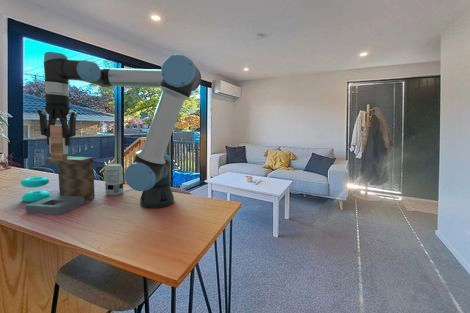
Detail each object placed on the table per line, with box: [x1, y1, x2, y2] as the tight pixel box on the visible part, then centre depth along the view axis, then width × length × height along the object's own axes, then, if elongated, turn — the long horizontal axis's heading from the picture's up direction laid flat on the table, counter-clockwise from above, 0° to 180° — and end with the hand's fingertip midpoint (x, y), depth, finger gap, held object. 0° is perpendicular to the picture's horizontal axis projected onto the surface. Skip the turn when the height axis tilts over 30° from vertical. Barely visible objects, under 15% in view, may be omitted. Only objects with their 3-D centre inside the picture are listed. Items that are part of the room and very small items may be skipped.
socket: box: [25, 194, 85, 216], centre depth 101 cm, size 14×14×3 cm
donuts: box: [20, 176, 51, 203], centre depth 110 cm, size 10×10×10 cm
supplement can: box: [104, 163, 124, 196], centre depth 123 cm, size 8×8×15 cm
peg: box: [50, 124, 68, 161], centre depth 97 cm, size 4×4×14 cm
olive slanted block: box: [45, 155, 96, 201], centre depth 110 cm, size 16×8×20 cm, turn 86°
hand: (59, 153), depth 97 cm, fingers closed on peg, 4 cm apart
